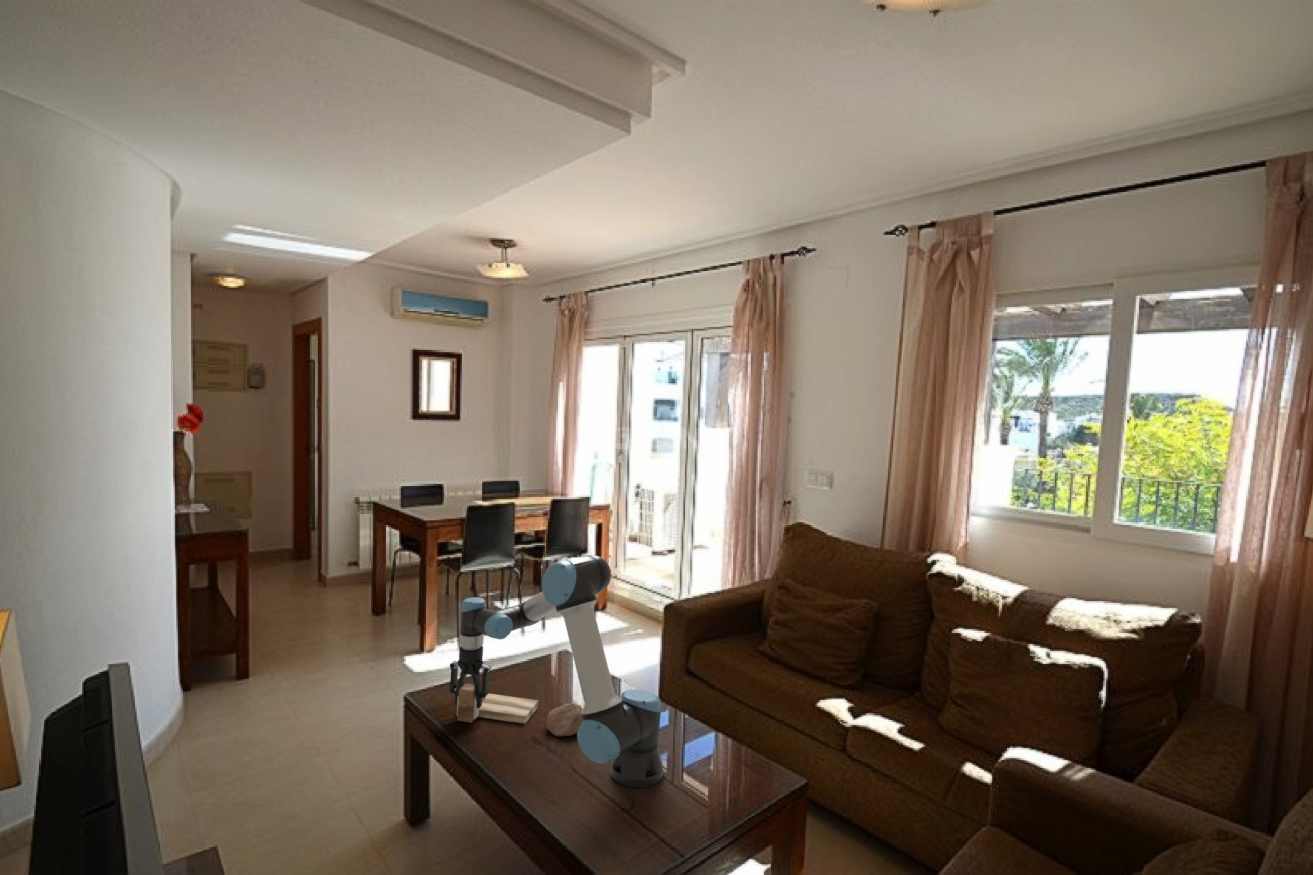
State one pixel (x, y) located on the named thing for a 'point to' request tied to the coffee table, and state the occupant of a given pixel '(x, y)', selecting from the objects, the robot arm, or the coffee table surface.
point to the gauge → (466, 703)
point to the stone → (565, 720)
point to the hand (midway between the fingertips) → (467, 715)
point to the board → (507, 708)
